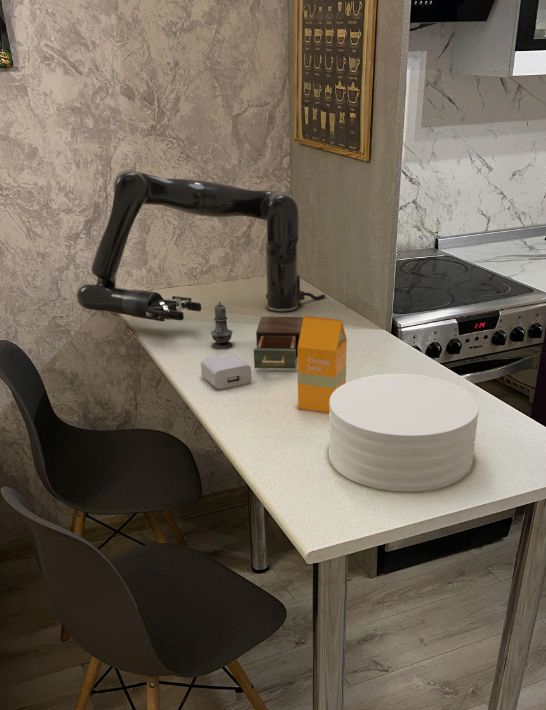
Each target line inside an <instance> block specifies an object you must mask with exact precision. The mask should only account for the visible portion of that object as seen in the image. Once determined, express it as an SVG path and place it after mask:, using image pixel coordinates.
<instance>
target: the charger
mask: <svg viewBox="0 0 546 710" xmlns="http://www.w3.org/2000/svg"><path fill="white" fill-rule="evenodd" d="M200 369H201V376H202V377H203V378H204V379H205V380H206V381H207V382H208V383H210V385H212V386H213V387H214V388H215V389H217V390H224V389H229V388H234V387H238V386H243V385H247V384H250V382H251V381H252V367H251V366H250V365H249V364H248V363H246V362H245V361H244V360H243V359H241V358H240V357H238V356H237V355H236V354H235V353H227V354H221V355H219V354H215V355H210V356H205V357H204V359H202V360H201V361H200Z"/></svg>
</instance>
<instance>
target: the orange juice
mask: <svg viewBox="0 0 546 710" xmlns="http://www.w3.org/2000/svg"><path fill="white" fill-rule="evenodd" d="M302 317H303V322H302V328H301V333H300V338H299V343H298V346H297V349H298V356H297V409H301V410H307V411H314V412H321V413H327V414H329V412H330V409H329V401H330V397H331V395H332V393H333V392H334V391H335V390H336V389H337V388H339V387H340V386H342V385H343V384H345V383H347V382H346V381H347V347H348V346H347V345H348V343H347V342H348V341H347V340H348V339H347V335H346V331H345V327H344V323H343V320H342V319H334V318H324V317H315V316H305V315H303V316H302Z"/></svg>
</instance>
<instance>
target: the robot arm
mask: <svg viewBox="0 0 546 710" xmlns="http://www.w3.org/2000/svg"><path fill="white" fill-rule="evenodd" d="M112 190H113V201H112V207H111V211H110V215H109V219H108V221H107V224H106V227H105V229H104V232H103V234H102V236H101V238H100V241H99V243H98V246H97V248H96V252H95V254H94V258H93V261H92V264H91V267H90V268H91V273H92V274H93V276H95V277H96V284H95V283H94V284H93V283H86V284H83V285H81V286H80V287H79V288H78V290H77V292H76V300H77V303H78V304H79V305H80V306H81V307H82V308H84V309H86V310H91V311H102V312H110V313H115V314H120V315H126V316H129V317H133V318H138V319H146V320H151V321H157V322H166V320H167V321H170V320H174V321H181V322H182V321H184V320H185V314H184V312H183V311H193V312H201V311H202V304H201V302H197V301H196V302H195V301H192V298H191V297H186V296H185V297H184V296H179V295H178V296H177V295H173V296H171V298H164V297H163V296H162V295H161V294H160V292H157V291H152V290H151V291H150V290H142V289H129V288H123V287H116V284H117V282H116V281H117V280H116V279H117V274H118V271H119V268H120V265H121V262H122V260H123V256H124V252H125V250H126V246H127V242H128V238H129V235H130V233H131V230H132V227H133V225H134V223H135V221H136V219H137V216H138V215H139V213H140V210H141V209H142V207H143V205H154V206H162V207H167V208H171V209H174V210H177V211H180V212H182V213H186V214H189V215H195V216H201V217H207V218H219V219H221V218H223V219H224V218H234V217H248V218H253V219H259V220H262V221H266V240H265V243H264V244H265V271H266V272H265V275H266V295H265V297H266V298H265V299H266V302H267V303H266V309H268V310H269V311H271V312H279V313H286V312H292V311H295V310H298V308H299V307H301V301H304V300H305V297H310V298H311V299H313V300H321V299H324V298H326V294H321V295H318V296H316V295H314V294H313V293H310V292H305V291H303V290H301V276H300V275H299V274H298V241H299V230H300V229H299V228H300V227H299V226H300V225H299V221H300V219H299V218H300V216H299V207H298V204H297V202H296V200H295V199H294V198H293V197H291V196H290V195H289V194H288V193H286V192H285V191H279V190H252V189H246V188H241V187H237V186H233V185H229V184H226V183H225V184H224V183H219V182H213V181H207V180H198V179H189V178H187V179H186V178H169V177H160V176H156V175H152V174H148V173H144V172H141V171H137V170H134V169H124V170H122V171H120V172H119V173H118V174H116V175H115V177H114V179H113V182H112ZM177 307H178V308H177Z"/></svg>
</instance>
